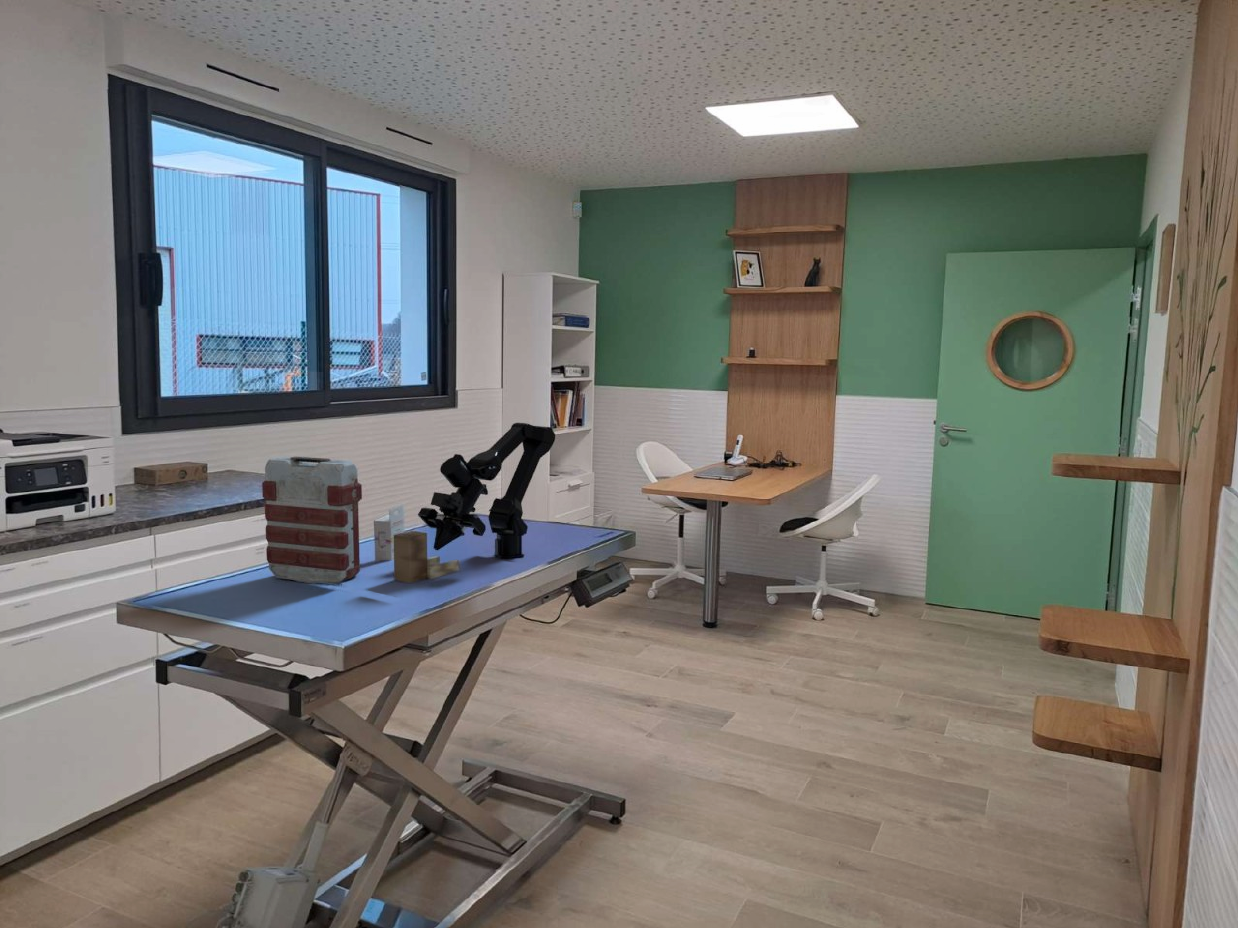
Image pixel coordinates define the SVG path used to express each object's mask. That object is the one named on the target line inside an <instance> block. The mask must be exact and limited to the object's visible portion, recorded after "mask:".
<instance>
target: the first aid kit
mask: <svg viewBox="0 0 1238 928" xmlns="http://www.w3.org/2000/svg"><path fill="white" fill-rule="evenodd" d="M264 473H265V475H264V479H265V480H264V481H262V482H261V486H262V488H261V489H262V491H261V493H262V498H263V499H265V502H266V503H265V504H264V518H265V520H266V525H265V540H266V541H267V546H266V548H265V551H266V553H265V554H266V561H267V563H268V570H270V572H271V573H272V574H273V576H274V577H275V578H276V579H283V580H293V581H295V582H298V583H299V582H300V583H306V584H307V583H308V584H316V585H317V584H326V585H328V584H329V585H335V586H338V585H339V586H340V585H343V583H340V582H345V581H348V580H351V579H353V578H355V577H356V576H357V575H358V574H359V573H360V571H361V566H360V565H361V562H360V561H361V560H360V530H359V529H360V527H359V525H360V524H359V523H360V522H359V502H360V501H362V499H363V490H362V489H363V488H362V484H361V483H360V482H358V469H357V465H356V464H355V463H354V462H353V461H352V460H340V459H332V460H331V459H330V458H321V457H309V456H293V457H292V456H279V457H274V458H273V457H272V458H269V459H268V460H267V462H266V464H265V467H264Z"/></svg>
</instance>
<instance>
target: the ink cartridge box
mask: <svg viewBox="0 0 1238 928" xmlns="http://www.w3.org/2000/svg"><path fill="white" fill-rule="evenodd" d="M396 511H397V513H396ZM404 532H405V513H404V506H403V504H401V505H397V506H395V507H393V508H391V509H389V510H388V514H387V515H385V516H383V517H380V518H377V519H375V520H373V537H374V539H373V540H374V541H373V542H374V562H375V563H377V562H381V561H394V535H395V534H399V533H404Z"/></svg>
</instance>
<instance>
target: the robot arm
mask: <svg viewBox="0 0 1238 928" xmlns="http://www.w3.org/2000/svg"><path fill="white" fill-rule="evenodd" d="M555 441H556V433H555V432H554V430H553V428H552V427H551V426H543V425H542V426H541V425H533V424H529V423H527V422H514V423H512V424H511V427H510V429H508V430H507V431H506V432H505V433H504V434H503V435H502V436H501V437H500V438H499V439H498V440H497V441H496V442H495V443H494V444H493V445H492V446H491V447H489V449H487V450H485V451H481V452H479V453H477V454H476V455H474V456H473V457H471V458H470V459H469V461H466V460H465V457H463V455H462V454H458V453H455V454H453V457H450V458H448V459H446V460H445V461H444V462H442V464H441V465H440V469H439V471H440V473H441V475H443V476H444V478H445V479H446V480H447V481H448V482H449V484H450V485H451V486H452V487H453V488H457V489H456V491H452V492H451V493H450V494H447V493H443V492H436V491H434V492H433V495H432V498H431V502H430V505H431V506H436V507H438V508H439V509H438V510H439V511H440V512H441V513H439V512H438V511H437V509H436V508H432V507H427V506H425V507H422V508H420V510H419V511H418V514H417V516H418V517H419V518H420V519H421V520H422V521H423V522H424V523H425V524H426V526H427V527H429V528H431V529H436V531H435V537H434V543H433V549H434V550H435V551H439V550H441V549H442V548H444V547H445V546H447V545H449V544H450V543H452V542H453V541H454V540H456V539H458V538H460V537H462V536H465V535H466V534H465V530H466V529H467V528H471V529H472V533H473V535H474V536H479V537H483V536H484V534H485V532H486V530H487V529H486V527H487V526H486V524H485V523H484V521H482V519H481V518H480V517H479V516H478V515H477V514H471V513H475V512H476V510H477V509H476V507H475V505H476V503H477V501H478V500H479V497H480V496H481V495H485V496H487V495H489V492H488V491H489V490H488V488H487V483H486V484H484V483H482V482H481V480H482V481H488V482H489V481H493V480H494V479H496V477H497V476H498V475H499V473H500V472H501V470H502V464H503V463H504V461H505V460H506V459H507V458H508V457H509V456H510V455H511V454H512V453H513V452H514V451H515V450H517V448H518V447H519V446H520V445H521V444H522V449H523V452H522V455H521V456H520V459H519V462H518V463H517V466H516V468H515V471H514V474H513V475H512V477H511V480H510V483H509V485H508V487H507V490H506V492H505V494H504V495H503V497H501V498H497V497H496V498H494V500H493V502H492V506H491V508H490V509H489V510H488V512H489V514H488V517H487V518H488V519H487V520H488V523H489V526H490V529H491V530H490V531H491V533H493V534H496V538H494V555H496V556H497V557H499V558H500V559H509V558H510V559H513V558H522V557H525V554H524V553H523V537H524V535H527V531H528V528H529V526H528V525H527V523H526V521H524V520H523V519H522V517H523V513H524V512H523V505H522V503H523V500H524V498H525V496H526V493H527V491H528V487H529V486H530V483H531V481H532V478H533V476H534V473H536V472H535V471H536V470H537V467H538V464H539V463H540V460H541V458H542V457H544V456H545V455H546V454H547V453H549V452H550V450H551V448H552V447H553V445H554V443H555Z"/></svg>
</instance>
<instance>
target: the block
mask: <svg viewBox="0 0 1238 928" xmlns="http://www.w3.org/2000/svg"><path fill="white" fill-rule="evenodd" d="M427 558H428V533H427V532H423V531H422V532H421V531H416V530H409V531H404V533H399V534H395V535H394V559H393V571H394V572H393V573H394V575H393V576H394V577H393V578H394V581H397V582H398V581H399V582H403V583H406V584H407V583H408V584H411V583H414V582H418V581H422V580H425V579H428V575H427Z"/></svg>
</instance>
